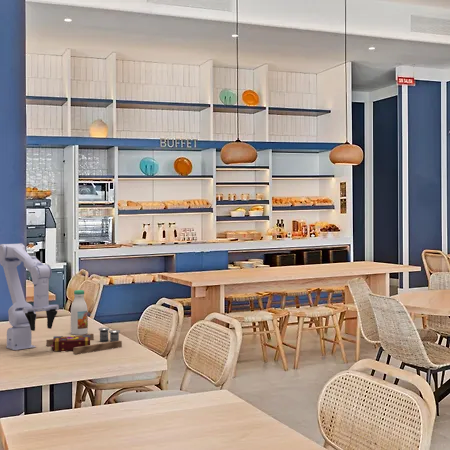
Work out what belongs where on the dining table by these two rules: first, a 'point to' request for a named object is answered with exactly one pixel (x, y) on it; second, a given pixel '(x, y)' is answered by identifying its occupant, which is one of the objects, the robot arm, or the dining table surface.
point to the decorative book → (69, 342)
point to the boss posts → (104, 335)
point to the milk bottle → (79, 314)
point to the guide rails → (91, 347)
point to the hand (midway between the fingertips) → (41, 329)
